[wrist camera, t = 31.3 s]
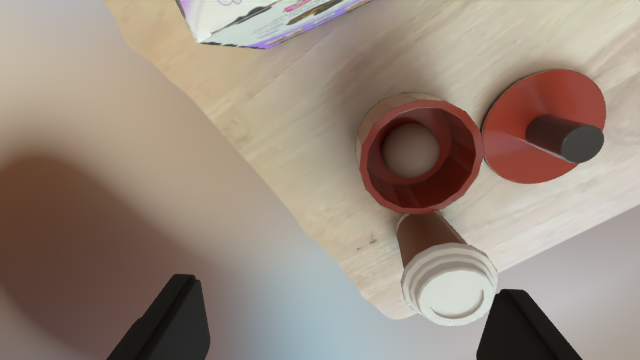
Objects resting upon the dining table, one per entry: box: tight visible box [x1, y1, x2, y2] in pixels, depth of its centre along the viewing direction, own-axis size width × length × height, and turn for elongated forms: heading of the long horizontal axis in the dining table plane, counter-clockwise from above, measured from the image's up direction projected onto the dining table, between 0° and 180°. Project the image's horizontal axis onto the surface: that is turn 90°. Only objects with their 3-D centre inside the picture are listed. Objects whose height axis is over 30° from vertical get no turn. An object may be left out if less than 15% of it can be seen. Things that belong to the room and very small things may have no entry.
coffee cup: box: [396, 211, 497, 326], centre depth 33 cm, size 9×9×12 cm
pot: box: [355, 92, 484, 215], centre depth 31 cm, size 11×11×6 cm
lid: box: [481, 70, 606, 184], centre depth 30 cm, size 12×12×7 cm
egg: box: [382, 123, 440, 178], centre depth 32 cm, size 6×6×4 cm
